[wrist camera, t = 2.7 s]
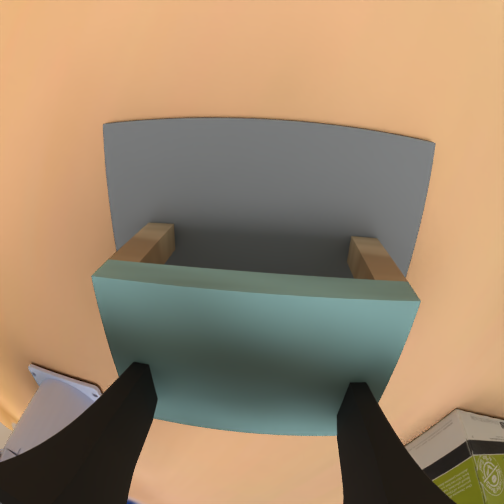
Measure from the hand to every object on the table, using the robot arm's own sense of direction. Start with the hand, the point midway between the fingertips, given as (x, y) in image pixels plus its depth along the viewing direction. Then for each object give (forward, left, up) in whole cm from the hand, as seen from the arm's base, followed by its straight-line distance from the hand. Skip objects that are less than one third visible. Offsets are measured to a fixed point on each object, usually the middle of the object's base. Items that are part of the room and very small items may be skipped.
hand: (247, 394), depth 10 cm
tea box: (-18, -22, -6) cm, 29 cm away
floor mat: (+1, 0, -6) cm, 6 cm away
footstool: (+1, 0, -5) cm, 5 cm away
